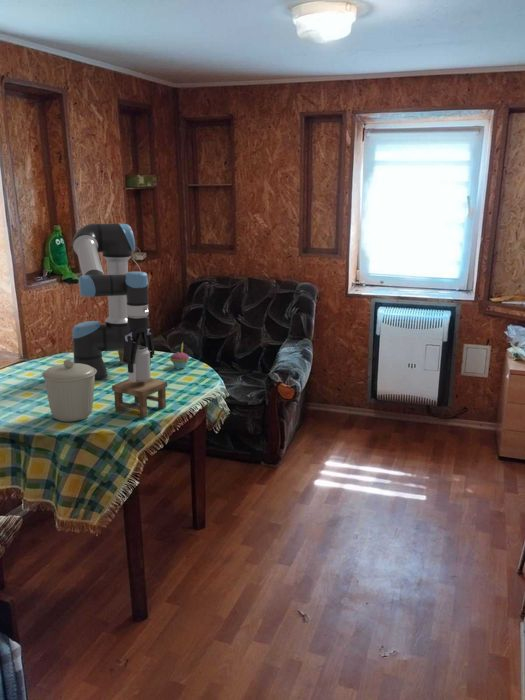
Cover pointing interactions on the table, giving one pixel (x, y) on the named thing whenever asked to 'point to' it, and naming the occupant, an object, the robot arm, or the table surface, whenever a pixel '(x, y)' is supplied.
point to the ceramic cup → (121, 355)
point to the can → (142, 364)
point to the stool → (140, 394)
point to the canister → (70, 390)
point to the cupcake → (179, 359)
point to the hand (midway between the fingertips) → (139, 377)
